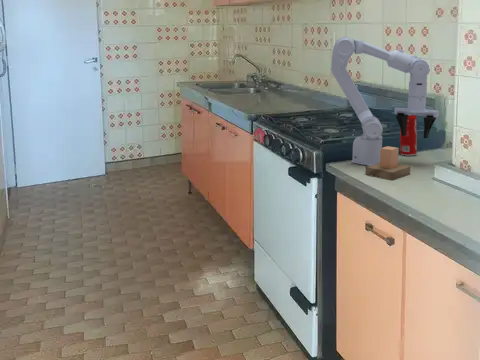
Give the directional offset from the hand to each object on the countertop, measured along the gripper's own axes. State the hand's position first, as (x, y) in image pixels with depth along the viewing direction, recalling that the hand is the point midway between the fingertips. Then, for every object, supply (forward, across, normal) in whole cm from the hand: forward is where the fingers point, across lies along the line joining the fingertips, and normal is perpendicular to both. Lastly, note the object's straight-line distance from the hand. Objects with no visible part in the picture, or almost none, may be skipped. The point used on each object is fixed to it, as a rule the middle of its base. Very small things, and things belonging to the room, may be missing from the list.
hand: (414, 136), depth 192 cm
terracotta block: (+7, -1, -17) cm, 18 cm away
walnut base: (+9, -1, -18) cm, 20 cm away
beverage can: (+10, -7, +12) cm, 17 cm away
